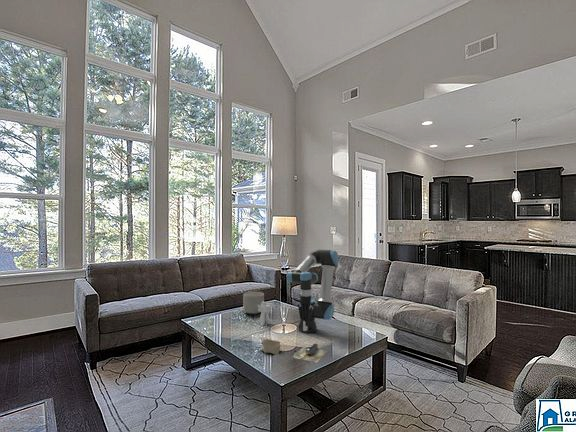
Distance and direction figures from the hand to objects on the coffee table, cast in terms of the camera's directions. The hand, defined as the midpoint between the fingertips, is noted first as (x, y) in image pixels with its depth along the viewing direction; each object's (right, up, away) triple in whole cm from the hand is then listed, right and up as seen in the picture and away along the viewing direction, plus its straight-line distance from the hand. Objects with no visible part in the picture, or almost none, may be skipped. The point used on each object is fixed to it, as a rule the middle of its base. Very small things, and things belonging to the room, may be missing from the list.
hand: (305, 330), depth 216 cm
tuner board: (+3, -13, -11) cm, 17 cm away
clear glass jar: (-31, -13, +54) cm, 63 cm away
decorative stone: (-23, -13, -6) cm, 27 cm away
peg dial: (+3, -12, -11) cm, 16 cm away
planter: (-44, -14, +81) cm, 93 cm away
